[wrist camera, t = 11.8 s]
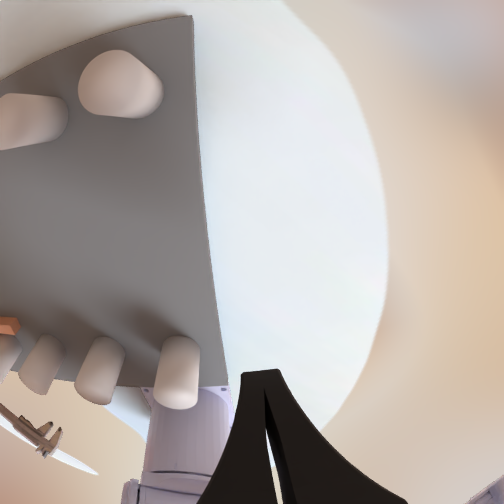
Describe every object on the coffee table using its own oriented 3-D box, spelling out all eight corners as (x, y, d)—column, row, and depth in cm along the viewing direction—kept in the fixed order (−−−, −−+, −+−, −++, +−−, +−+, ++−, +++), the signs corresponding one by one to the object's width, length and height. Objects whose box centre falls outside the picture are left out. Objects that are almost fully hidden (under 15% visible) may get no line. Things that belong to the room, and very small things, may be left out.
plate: (227, 376, 22) (230, 430, 17) (8, 363, 21) (-12, 395, 16) (193, 21, 12) (181, -23, 7) (-63, 133, 10) (-101, 144, 5)
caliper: (63, 426, 26) (51, 460, 20) (64, 429, 26) (53, 463, 21) (-37, 367, 21) (-53, 392, 16) (-35, 372, 22) (-50, 397, 16)
